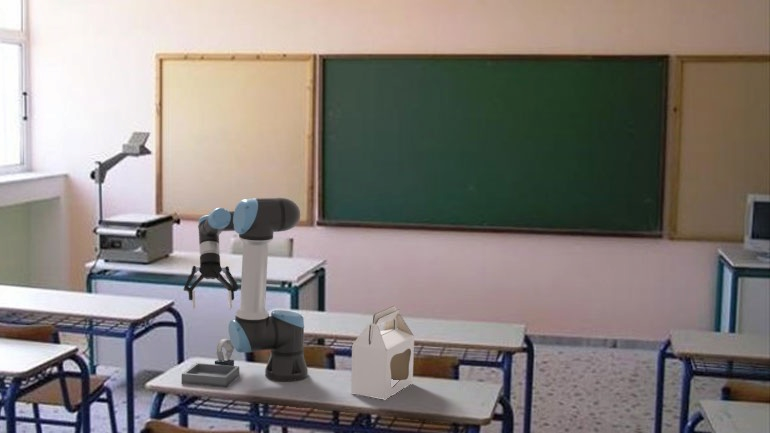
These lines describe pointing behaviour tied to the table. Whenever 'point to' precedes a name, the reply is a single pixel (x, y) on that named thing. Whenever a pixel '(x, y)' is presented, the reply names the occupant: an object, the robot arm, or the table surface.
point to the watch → (229, 349)
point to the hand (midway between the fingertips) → (212, 308)
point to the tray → (210, 375)
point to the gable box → (382, 356)
